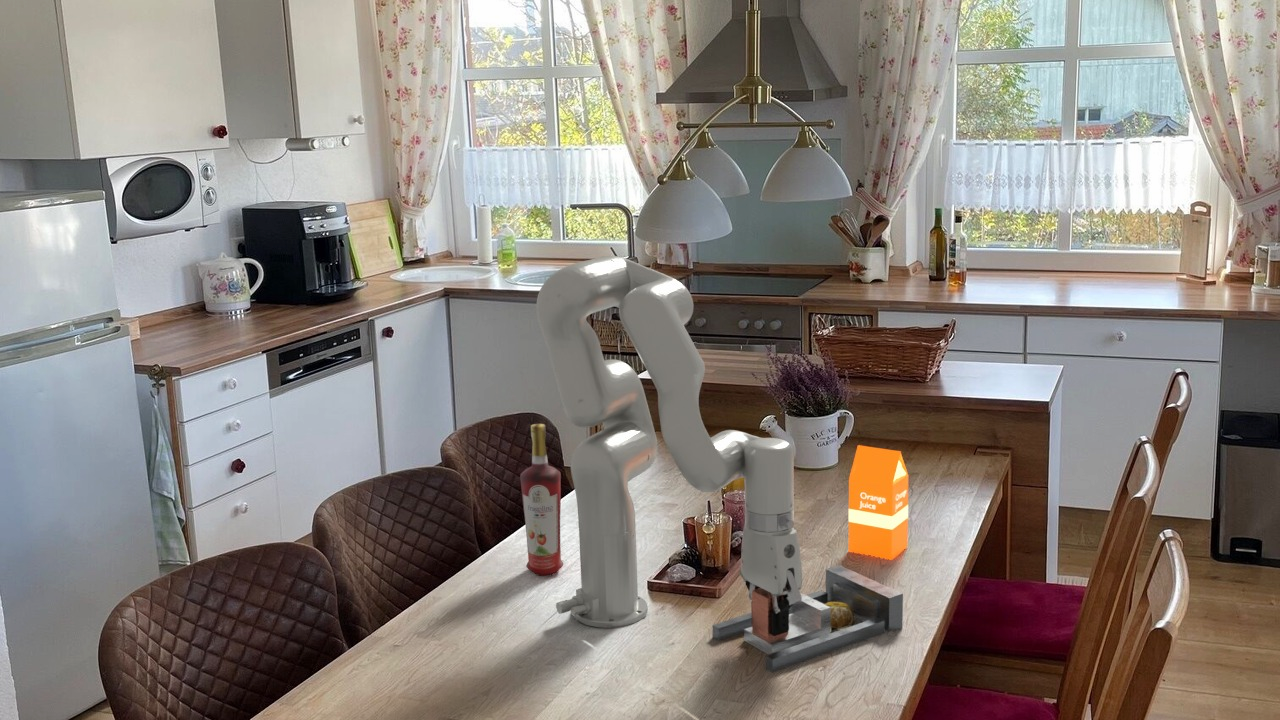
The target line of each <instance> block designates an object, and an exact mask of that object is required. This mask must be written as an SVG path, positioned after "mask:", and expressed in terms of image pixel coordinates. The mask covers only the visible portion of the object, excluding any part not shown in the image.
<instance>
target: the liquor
mask: <svg viewBox="0 0 1280 720" xmlns="http://www.w3.org/2000/svg"><path fill="white" fill-rule="evenodd" d="M546 431H547V428H546V424H544V423H534V424H530V436H531V440H532V441H531V442H532V447H531V449H532V451H531V466H529V467H527V468H525V469H524V470H522V472H521V473H520V476H519V477H520V485H521V497H522V499H521V500H522V506H523V507H522V508H523V513H524V514H523V515H524V522H525V533H526V544H527V545H526V546H527V556H528V557H527V558H528V561H527V562H526V565H525V566H526V568H527V569H528V570H529V571H530V572H531V573H533V574H534V575H535V576H539V577H547V576H548V577H550V576H553V575H556V574H557V573H558V572H559V570H561V569H562V568H563V566H564V562H563V560H562V553H561V552H562V551H561V502H562V501H561V500H562V499H561V497H562V496H561V494H562V493H561V491H562V490H561V489H562V488H561V478H562V476H561V471H560V470H558V469H557V468H556V467H554V466H551V465H549V461H548V454H547V447H546V437H547V433H546Z"/></svg>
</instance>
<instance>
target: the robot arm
mask: <svg viewBox="0 0 1280 720" xmlns="http://www.w3.org/2000/svg"><path fill="white" fill-rule="evenodd" d="M535 307H536V309H535V310H536V317H537V322H538V326H539V328H540V331H541V334H542V337H543V340H544V342H545V345H546V347H547V350H548V352H547V353H548V356H549V358H550V363H551V367H552V370H553V375H554V379H555V382H556V386H557V389H558V393H559V396H560V400H561V401H560V402H561V403H562V408H563V411H564V413H565V416H566V417H567V419H568V420H569V421H570V422H571V424H573V425H574V426H576V427H579V428H584V429H585V428H586V429H587V428H592V427H596V426H598V425H600V424H602V427H603V429H602V430H599V431H597V432H596V433H594V434H592V435H590V436H588V437H587V438H585V439H584V440H582V441H581V442H580V443H579V444H578V446H577V447H576V448H575V449H574V451H573V453H572V456H571V459H570V475H571V478H572V483H573V486H574V491H575V497H576V504H577V518H578V521H577V523H578V536H579V537H578V538H579V556H580V559H579V560H580V563H579V564H580V581H581V582H580V583H581V584H580V585H581V588H576V589H575V595H573V596H572V598H571V599H565V600H561V601H557V602H556V603H555V608H556V611H557V613H558V614H560V615H561V614H565V613H568V612H570V613H571V615H572V616H574V618H575V619H576V620H577V622H580V623H581V624H584V625H586V626H590V627H595V628H604V629H605V628H606V629H607V628H610V629H612V628H620V627H625V626H628V625H633V624H635V623H637V622H639V621H641V620H643V619H644V618H645V617H646V616H647V614H648V608H649V607H648V603H647V602H646V600H645V599H644V598H643V597H640V596H639V592H638V591H639V589H638V588H639V587H638V562H637V561H638V560H637V558H638V557H637V533H636V532H637V531H636V525H637V524H636V512H635V511H636V510H635V506H634V501H633V499H632V496H631V494H630V492H629V491H630V490H629V485H628V484H629V482H630V481H632V480H633V479H634V478H636V477H638V476H639V475H641V474H643V473H644V472H646V471H647V470H648V469H650V468H651V466H652V465H654V462H655V461H656V458H657V455H658V440H657V435H656V432H655V427H654V423H653V420H652V415H651V413H650V408H649V405H648V401H647V398H646V393H645V389H644V386H643V384H642V380H641V379H640V377H639V375H638V374H637V372H636V371H635V370H634V369H633V368H632V367H631V366H630V365H629V364H628V363H626V362H625V361H622V360H620V359H615V358H614V359H605V358H604V355H603V351H602V347H601V343H600V340H599V337H598V335H597V334H596V332H595V330H594V328H593V327H592V326H591V325H590V323H589V322H588V321H587V318H588V316H590V315H592V314H594V313H598V312H602V311H604V310H608V309H610V308H614V307H615V308H618V315H619V319H620V321H621V324H622V326H623V328H624V330H625V332H626V334H627V336H628V338H629V339H630V341H631V344H632V345H633V347H634V349H635V351H636V352H637V354H638V356H639V358H640V360H641V362H642V364H643V366H644V368H645V370H646V371H647V374H648V375H649V376H650V379H651V381H652V382H653V384H654V387H655V388H656V392H657V405H658V407H657V408H658V409H657V410H658V416H659V422H660V430H661V433H662V438H663V440H664V443H665V445H666V447H667V450H668V452H669V454H670V456H671V457H672V459H673V461H674V463H675V465H676V466H677V469H678V470H679V472H680V474H681V476H682V477H683V478H684V480H686V481H687V483H688V484H689V485H690V486H691V487H693V488H694V489H696V490H697V491H699V492H703V493H714V492H716V491H720V490H721V489H723V488H725V487H726V486H727V485H730V484H731V483H732V482H733V481H736V480H738V479H742V478H744V525H743V531H742V540H741V551H740V552H741V553H740V555H741V557H740V559H741V560H740V563H741V568H740V570H739V575H740V577H741V578H742V580H743V582H745V587H746V588H747V590H748V599H749V600H750V601H751V605H750V606H751V608H750V609H751V612H752V590H755V589H758V588H762V589H764V590H766V591H768V592H770V593H771V596H772V603H773V610H774V611H771V635H773V636H777V635H780V634H783V633H786V632H788V631H789V609H791V608H792V606H793V605H794V604H795V603H797V602H799V601H801V600H802V597H801V595H800V594H801V592H800V590H801V589H802V586H803V569H802V568H803V567H802V566H803V565H802V556H801V555H802V554H801V547H800V542H799V541H800V540H799V537H798V532H797V529H795V528H794V527H795V519H794V517H795V516H794V515H795V513H794V512H795V509H794V507H795V505H794V502H795V501H794V500H795V498H794V494H795V489H794V488H795V487H794V485H795V483H794V482H795V481H794V480H795V479H794V477H795V476H794V475H795V474H794V472H795V469H794V465H795V464H794V463H795V462H794V461H795V460H794V448H793V446H792V444H791V443H790V442H788V441H787V440H785V439H782V438H776V437H759V436H756V435H752V434H749V433H748V432H744V431H740V430H737V429H736V430H735V429H725V430H723V431H720V432H718V433H716V434H715V435H713V436H712V437H710V435H709V433H708V431H707V429H706V427H705V424H704V422H703V420H702V419H703V418H702V416H701V412H700V405H699V403H700V402H699V400H700V399H699V397H700V392H701V388H702V383H703V381H704V380H703V379H704V377H705V372H706V365H705V362H704V360H703V358H702V356H701V355H700V353H699V351H698V349H697V347H696V346H695V343H694V342H693V340H692V337H691V335H690V334H689V332H688V331H687V329H686V327H685V325H686V324H687V323H688V322H689V321H690V320H691V318H692V315H693V313H694V300H693V296H692V295H691V293H690V291H689V290H688V288H687V287H686V286H685V285H684V284H682V283H681V281H679V280H677V279H676V278H674V277H673V276H669V275H667V274H665V273H662V272H660V271H657V270H655V269H653V268H650V267H647V266H644V265H642V264H640V263H638V262H635V261H632V260H631V259H628V258H625V257H622V256H617V255H605V256H604V255H603V256H600V257H596V258H595V257H594V258H592V259H589V260H583V261H579V262H576V263H572V264H569V265H566V266H564V267H562V268H561V269H558V270H557V271H555V272H554V273H552V274H551V275H550V276H549V277H548V278H547V279H546V280H545V281H544V283H543V284H542V286H541V288H540V290H539V292H538V294H537V299H536V306H535ZM782 595H783V600H782V601H781V602H780V601H779V596H782Z"/></svg>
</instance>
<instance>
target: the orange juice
mask: <svg viewBox="0 0 1280 720" xmlns="http://www.w3.org/2000/svg"><path fill="white" fill-rule="evenodd" d="M851 466H852V467H851V469H850V474H849V477H848V553H849V552H850V553H853V552H854V553H855V554H858V553H860V554H859V555H863V554H865V555H864V556H868V555H871V556H870V557H873V556H875V557H874V558H878V557H880V559H883V558H885V559H884V560H888V559H889V561H893V560H894V559H895V558H896V557H898V555H900V554H901V553H902V552H903V551H905V550H906V549H908V528H909V527H908V525H909V523H908V522H909V521H908V520H909V474H908V471H907V468H906V465H905V461H904V459H903V456H902V451H901V450H893V449H887V448H880V447H873V446H867V445H860V444H859V445H857V448H856V451H855V455H854V459H853V463H852V465H851ZM904 549H905V550H904Z"/></svg>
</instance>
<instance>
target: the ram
mask: <svg viewBox="0 0 1280 720" xmlns="http://www.w3.org/2000/svg"><path fill="white" fill-rule="evenodd" d="M800 595H801V597H802V600H801V601H799V602H797V603H795V604H794V605H793V606H792V614H789V631H788V632H786V633H783V634H780V635H777V636H773V635H771V611H774V610H773V603H772V596H771V593H770V592H768V591H766V590H764V589H762V588H758V589H755V590H752V600H751V601H752V611H751V613H752V627H749V628H746V629H744V633H743V641H744V642H745V643H748V644H749V645H751V646H752V647H754V648H756V649H758V650H759V651H762V652H763V653H765V654H766V655H769V654H772V653H775V652H778V651H781V650H784V649H787V648H790V647H793V646H796V645H798V644H801V643H804V642H807V641H810V640H813V639H816V638H819V637H822V636H825V635H827V634H830V620H831V607H829V606H827V605H825V604H823V603H820V602H818V601H816V600H814V599H812V598H810V597H808V596H806V595H807V594H804V593H802V592H800ZM782 600H783V595H782V596H779V601H780V602H781V601H782Z"/></svg>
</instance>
